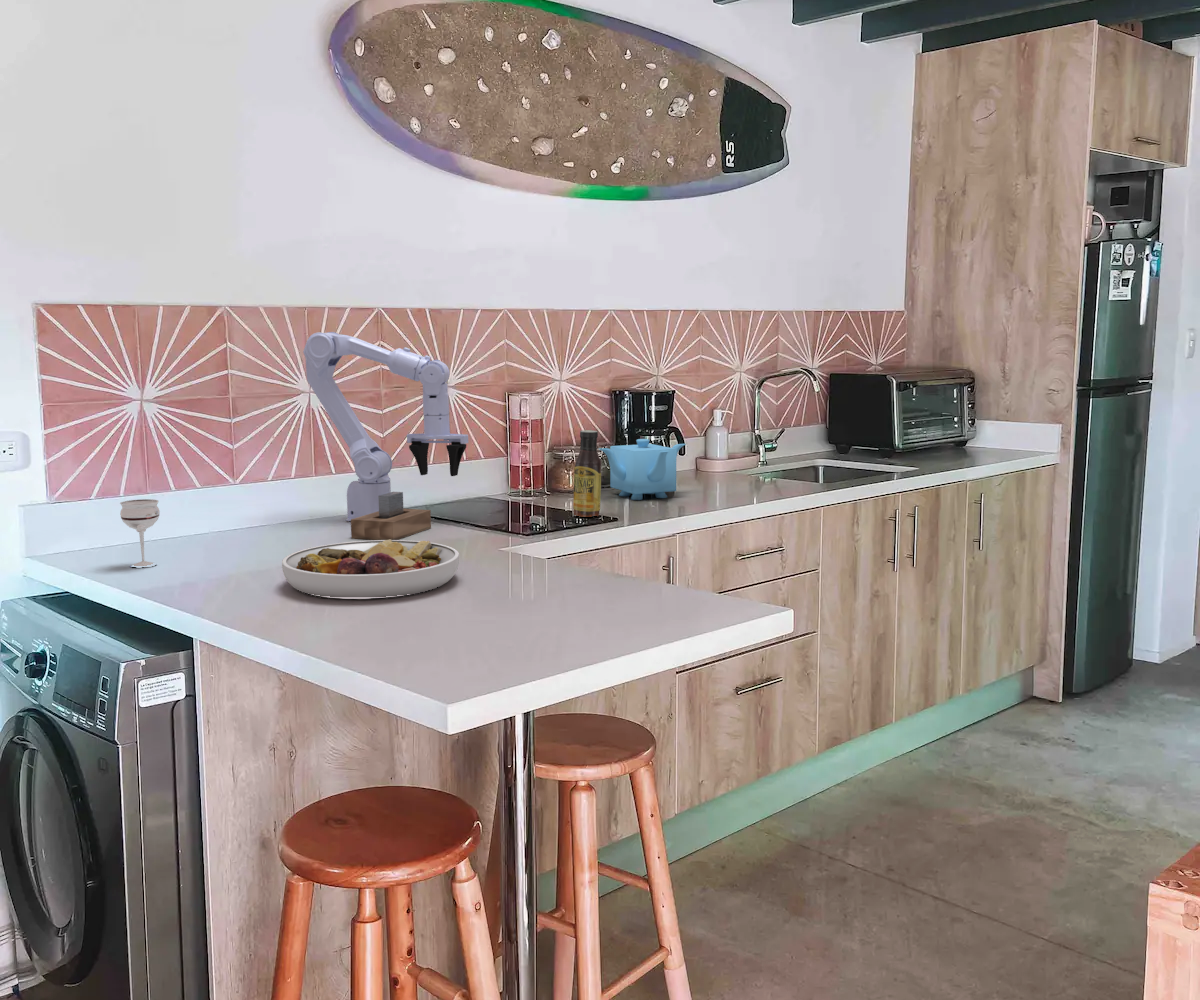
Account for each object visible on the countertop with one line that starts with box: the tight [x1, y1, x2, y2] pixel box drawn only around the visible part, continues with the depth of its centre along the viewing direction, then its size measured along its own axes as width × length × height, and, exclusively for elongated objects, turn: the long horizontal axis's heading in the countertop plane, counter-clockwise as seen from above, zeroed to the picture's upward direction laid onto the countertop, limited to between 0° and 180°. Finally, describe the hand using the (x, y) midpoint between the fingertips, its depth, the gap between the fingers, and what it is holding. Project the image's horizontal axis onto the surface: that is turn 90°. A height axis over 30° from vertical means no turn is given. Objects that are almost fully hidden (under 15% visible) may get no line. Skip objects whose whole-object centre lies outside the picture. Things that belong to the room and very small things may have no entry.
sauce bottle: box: [572, 429, 602, 518], centre depth 264 cm, size 7×6×20 cm
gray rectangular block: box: [378, 491, 404, 519], centre depth 245 cm, size 2×6×8 cm, turn 160°
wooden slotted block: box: [350, 508, 432, 541], centre depth 246 cm, size 10×16×4 cm, turn 160°
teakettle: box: [598, 438, 687, 501], centre depth 295 cm, size 19×19×15 cm
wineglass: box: [119, 498, 161, 566], centre depth 214 cm, size 7×7×12 cm
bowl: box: [281, 539, 460, 597], centre depth 200 cm, size 30×30×8 cm
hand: (439, 475), depth 260 cm, fingers open, 7 cm apart
